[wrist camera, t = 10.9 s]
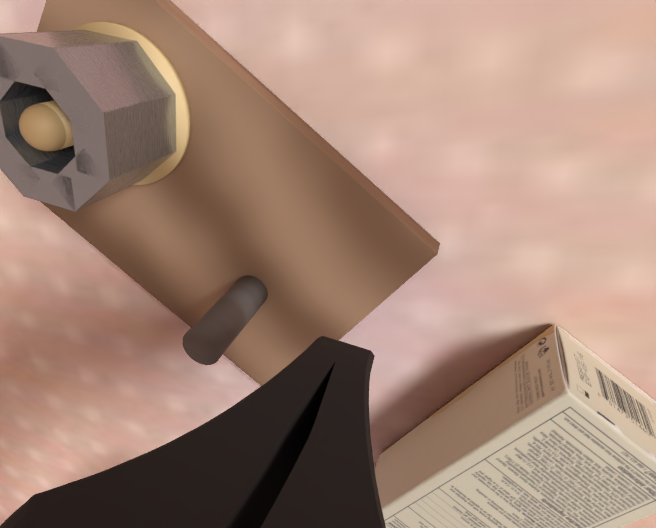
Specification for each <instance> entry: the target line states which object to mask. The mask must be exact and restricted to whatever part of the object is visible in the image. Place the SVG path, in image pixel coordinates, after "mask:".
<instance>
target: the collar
mask: <svg viewBox="0 0 656 528" xmlns="http://www.w3.org/2000/svg"><path fill="white" fill-rule="evenodd" d="M53 100H55V101H56V103H57V104H58V105H59V106H60V108H61V109H62V110H63V112H64V113H65V114H66V115H67V117H68V118H69V119H70V120H71V126H72V134H73V142H74V145H73V146H70V147H66V148H63V149H60V150H57V151H42V150H39V149H36V148H34V147H33V146H31V145H30V144H28V143H27V142H26V141H25V139H24V138H23V136H22V135H21V132H20V129H19V119H20V116H21V114H22V113H23V111H24V110H25V109H26V108H28V107H29V106H31V105H34V104H38V103H43V102H48V101H53ZM175 152H176V94H175V93H174V91H173V90H172V88H171V87H170V86H169V84H168V83H167V81H166V80H165V79H164V77H163V76H162V75H161V73H160V72H159V70H158V69H157V68H156V66H155V65H154V64H153V62H152V61H151V59H150V58H149V57H148V55H147V54H146V53H145V51H144V50H143V48H142V47H141V46H140V44H139V43H138V41H135V40H130V39H125V38H121V37H116V36H111V35H107V34H102V33H97V32H93V31H88V30H72V31H50V32H28V33H7V34H0V169H1V170H2V171H3V172H4V174H5V175H6V176H7V177H8V178H9V179H10V181H11V182H12V183H13V184H14V185H15V186H16V188H17V189H18V190H19V191H20V192H21V194H22V195H23V196H25V197H28V198H32V199H35V200H38V201H42V202H45V203H48V204H52V205H55V206H58V207H62V208H65V209H68V210H72V211H75V212H76V211H78V210H80V209H82V208H84V207H86V206H89V205H91V204H93V203H95V202H97V201H99V200H101V199H103V198H105V197H108V196H110V195H112V194H114V193H116V192H118V191H120V190H122V189H124V188H126V187H129V186H131V185H133V184H135V183H137V182H139V181H141V180H143V179H145V178H146V177H147V176H148V175H149V174H151V173H152V172H153V171H154V170H155V169H156V168H158V167H159V166H160V165H161V164H162V163H163V162H165V161H166V160H167V159H168V158H169V157H170V156H172V155H173V154H174V153H175Z"/></svg>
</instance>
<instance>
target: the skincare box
mask: <svg viewBox="0 0 656 528" xmlns="http://www.w3.org/2000/svg"><path fill="white" fill-rule="evenodd" d="M375 476H376V482H377V487H378V493H379V498H380V503H381V507H382V512H383V517H384V521H385V525H386V528H621V527H623V526H626V525H628V524H630V523H633V522H635V521H637V520H640V519H642V518H645V517H647V516H649V515H652V514H654V513H656V401H655V400H653V399H652V398H651V397H650V396H648V395H647V394H646V393H645V392H643V391H642V390H641V389H639V388H638V387H637V386H636V385H634V384H633V383H632V382H630V381H629V380H628V379H626V378H625V377H624V376H623V375H621V374H620V373H619V372H618V371H616V370H615V369H614V368H612V367H611V366H610V365H608V364H607V363H606V362H605V361H603V360H602V359H601V358H599V357H598V356H597V355H596V354H594V353H593V352H592V351H590V350H589V349H588V348H587V347H585V346H584V345H583V344H581V343H580V342H579V341H577V340H576V339H575V338H574V337H572V336H571V335H570V334H569V333H567V332H566V331H565V330H564V329H562V328H560V327H559V326H557V325H552V326H551V327H549V328H548V329H547V330H545V331H544V332H543V333H541V334H540V335H539V336H537V337H536V338H535V339H533V340H532V341H531V342H529V343H528V344H527V345H525V346H524V347H522V348H521V349H520V350H518V351H517V352H516V353H514V354H513V355H512V356H510V357H509V358H508V359H506V360H505V361H504V362H502V363H501V364H500V365H498V366H497V367H496V368H494V369H493V370H492V371H490V372H489V373H488V374H486V375H485V376H484V377H482V378H481V379H480V380H478V381H477V382H476V383H474V384H473V385H472V386H470V387H469V388H467V389H466V390H465V391H463V392H462V393H461V394H459V395H458V396H457V397H455V398H454V399H453V400H451V401H450V402H449V403H447V404H446V405H445V406H443V407H442V408H441V409H439V410H438V411H437V412H435V413H434V414H433V415H431V416H430V417H429V418H427V419H426V420H425V421H423V422H422V423H421V424H419V425H418V426H417V427H416V428H414V429H413V430H412V431H410V432H409V433H408V434H406V435H405V436H403V437H402V438H401V439H400V440H398V441H397V442H396V443H394V444H393V445H392V446H390V447H389V448H388V449H386V450H385V451H384V452H383V453H381V454H380V455H379V458H378V461H377V464H376V467H375Z"/></svg>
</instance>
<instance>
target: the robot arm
mask: <svg viewBox="0 0 656 528" xmlns="http://www.w3.org/2000/svg"><path fill="white" fill-rule="evenodd" d="M373 360H374V355H373V353H372V352H371V351H370V350H367V349H364V348H360V347H357V346H354V345H351V344H348V343H344V342H341V341H338V340H335V339H331V338H328V337H325V336H321V337H319V338H317V339H316V340H315V341H314V342H313V343H312V344H311V345H310V346H309V347H308V348H307V349H306V350H305V351H304V352H303V353H301V354H300V355H299V356H298V357H297V358H296V359H295V360H293V361H292V362H291V363H290V364H289V365H288V366H286V367H285V368H284V369H283V370H281V371H280V372H279V373H278V374H276V375H275V376H274V377H273V378H271V379H270V380H269V381H268V382H266V383H265V384H264V385H262V386H261V387H260V388H258V389H257V390H255V391H254V392H253V393H251V394H250V395H248V396H247V397H245V398H244V399H243V400H241V401H240V402H238V403H237V404H235V405H234V406H232V407H231V408H229V409H228V410H226V411H225V412H223V413H221V414H220V415H218V416H217V417H215V418H213V419H211V420H210V421H208V422H206V423H205V424H203V425H201V426H199V427H198V428H196V429H194V430H192V431H190V432H188V433H186V434H184V435H182V436H181V437H179V438H177V439H175V440H173V441H171V442H169V443H167V444H165V445H163V446H161V447H159V448H157V449H154V450H152V451H150V452H148V453H145V454H143V455H141V456H138V457H136V458H134V459H131V460H129V461H127V462H124V463H122V464H119V465H117V466H115V467H112V468H110V469H108V470H105V471H102V472H100V473H97V474H95V475H92V476H89V477H86V478H83V479H80V480H77V481H74V482H71V483H68V484H66V485H63V486H60V487H57V488H54V489H51V490H48V491H45V492H42V493H38V494H35V495H33V496H32V497H31V498H30V499H29V500H28V501H27V502H26V503H25V504H23V505H22V506H21V507H20V508H19V509H18V510H16V511H15V512H14V513H13V514H12V515H11V516H10V517H9V518H8V519H7V520H6V521H5V522H4V523H3V524H2V525H1V526H0V528H386V525H385V521H384V517H383V512H382V507H381V503H380V498H379V493H378V487H377V482H376V476H375V470H374V463H373V456H372V447H371V438H370V425H369V380H370V372H371V368H372V364H373Z"/></svg>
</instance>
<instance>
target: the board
mask: <svg viewBox="0 0 656 528" xmlns="http://www.w3.org/2000/svg"><path fill="white" fill-rule="evenodd" d="M72 30H88V31H93V32H97V33H102V34H107V35H111V36H116V37H121V38H125V39H130V40H135V41H138V43H139V44H140V46H141V47H142V48H143V50H144V51H145V53H146V54H147V55H148V57H149V58H150V59H151V61H152V62H153V64H154V65H155V66H156V68H157V69H158V70H159V72H160V73H161V75H162V76H163V77H164V79H165V80H166V81H167V83H168V84H169V86H170V87H171V88H172V90H173V91H174V93H175V94H176V152H175V153H174V154H173V155H172V156H170V157H169V158H168V159H167V160H166V161H165V162H163V163H162V164H161V165H160V166H159V167H158V168H156V169H155V170H154V171H153V172H152V173H151V174H149V175H148V176H147V177H146V178H145V179H143V180H141V181H139V182H137V183H135V184H133V185H131V186H129V187H126V188H124V189H122V190H120V191H118V192H116V193H114V194H112V195H110V196H108V197H105V198H103V199H101V200H99V201H97V202H95V203H93V204H91V205H89V206H86V207H84V208H82V209H80V210H78V211H76V212H75V211H72V210H68V209H65V208H62V207H58V206H55V205H52V204H48V203H45V202H42V201H40V202H42V203H43V204H44V205H45V206H46V207H48V208H49V209H50V210H51V211H52V212H54V213H55V214H56V215H57V216H58V217H60V218H61V219H62V220H63V221H64V222H66V223H67V224H68V225H69V226H70V227H72V228H73V229H74V230H75V231H76V232H78V233H79V234H80V235H81V236H82V237H84V238H85V239H86V240H87V241H88V242H90V243H91V244H92V245H93V246H94V247H96V248H97V249H98V250H99V251H100V252H102V253H103V254H104V255H105V256H106V257H108V258H109V259H110V260H111V261H112V262H114V263H115V264H116V265H117V266H118V267H120V268H121V269H122V270H123V271H124V272H126V273H127V274H128V275H129V276H130V277H132V278H133V279H134V280H135V281H136V282H138V283H139V284H140V285H141V286H142V287H143V288H145V289H146V290H147V291H148V292H149V293H151V294H152V295H153V296H154V297H155V298H157V299H158V300H159V301H160V302H161V303H163V304H164V305H165V306H166V307H167V308H169V309H170V310H171V311H172V312H173V313H175V314H176V315H177V316H178V317H179V318H181V319H182V320H183V321H184V322H185V323H187V324H188V325H189V326H190V327H191V329H190V330H189V331H188V332H187V333H186V334H185V335H184V337H183V347H184V349H185V351H186V353H187V354H188V355H189V356H190V357H191V358H192V359H193V360H195V361H196V362H198V363H201V364H204V365H211V364H214V363H216V362H217V361H218V359H219V358H220V357H221V356H222V354H224V355H225V356H226V357H227V358H229V359H230V360H231V361H232V362H233V363H235V364H236V365H237V366H238V367H239V368H241V369H242V370H243V371H244V372H245V373H247V374H248V375H249V376H250V377H251V378H253V379H254V380H255V381H256V382H257V383H259V384H260V385H261V386H262V385H264V384H265V383H266V382H268V381H269V380H270V379H271V378H273V377H274V376H275V375H276V374H278V373H279V372H280V371H281V370H283V369H284V368H285V367H286V366H288V365H289V364H290V363H291V362H292V361H293V360H295V359H296V358H297V357H298V356H299V355H300V354H301V353H303V352H304V351H305V350H306V349H307V348H308V347H309V346H310V345H311V344H312V343H313V342H314V341H315V340H316V339H317V338H319V337H321V336H325V337H328V338H331V339H335V340H339V339H341V338H342V337H343V336H344V335H345V334H346V333H347V332H349V331H350V330H351V329H352V328H353V327H354V326H355V325H357V324H358V323H359V322H360V321H361V320H362V319H364V318H365V317H366V316H367V315H368V314H369V313H370V312H372V311H373V310H374V309H375V308H376V307H377V306H378V305H380V304H381V303H382V302H383V301H384V300H385V299H386V298H388V297H389V296H390V295H391V294H392V293H393V292H394V291H396V290H397V289H398V288H399V287H400V286H401V285H403V284H404V283H405V282H406V281H407V280H408V279H409V278H411V277H412V276H413V275H414V274H415V273H416V272H417V271H419V270H420V269H421V268H422V267H423V266H424V265H425V264H427V263H428V262H429V261H430V260H431V259H432V258H433V257H435V256H436V255H437V253H438V249H439V245H440V243H439V242H438V241H436V240H435V239H434V238H433V237H432V236H431V235H430V234H429V233H428V232H426V231H425V230H424V229H423V228H422V227H421V226H420V225H419V224H418V223H416V222H415V221H414V220H413V219H412V218H411V217H410V216H409V215H408V214H406V213H405V212H404V211H403V210H402V209H401V208H400V207H399V206H398V205H396V204H395V203H394V202H393V201H392V200H391V199H390V198H389V197H388V196H386V195H385V194H384V193H383V192H382V191H381V190H380V189H379V188H378V187H377V186H375V185H374V184H373V183H372V182H371V181H370V180H369V179H368V178H367V177H365V176H364V175H363V174H362V173H361V172H360V171H359V170H358V169H357V168H355V167H354V166H353V165H352V164H351V163H350V162H349V161H348V160H347V159H345V158H344V157H343V156H342V155H341V154H340V153H339V152H338V151H337V150H335V149H334V148H333V147H332V146H331V145H330V144H329V143H328V142H327V141H325V140H324V139H323V138H322V137H321V136H320V135H319V134H318V133H317V132H315V131H314V130H313V129H312V128H311V127H310V126H309V125H308V124H307V123H305V122H304V121H303V120H302V119H301V118H300V117H299V116H298V115H297V114H295V113H294V112H293V111H292V110H291V109H290V108H289V107H288V106H287V105H285V104H284V103H283V102H282V101H281V100H280V99H279V98H278V97H277V96H275V95H274V94H273V93H272V92H271V91H270V90H269V89H268V88H267V87H265V86H264V85H263V84H262V83H261V82H260V81H259V80H258V79H257V78H256V77H254V76H253V75H252V74H251V73H250V72H249V71H248V70H247V69H246V68H244V67H243V66H242V65H241V64H240V63H239V62H238V61H237V60H236V59H234V58H233V57H232V56H231V55H230V54H229V53H228V52H227V51H226V50H224V49H223V48H222V47H221V46H220V45H219V44H218V43H217V42H216V41H214V40H213V39H212V38H211V37H210V36H209V35H208V34H207V33H206V32H204V31H203V30H202V29H201V28H200V27H199V26H198V25H197V24H196V23H194V22H193V21H192V20H191V19H190V18H189V17H188V16H187V15H186V14H184V13H183V12H182V11H181V10H180V9H179V8H178V7H177V6H176V5H174V4H173V3H172V2H171V1H170V0H46V4H45V7H44V10H43V13H42V17H41V20H40V23H39V27H38V30H37V32H50V31H72ZM19 129H20V132H21V135H22V136H23V138H24V139H25V141H26V142H27V143H28V144H30V145H31V146H33V147H34V148H36V149H39V150H42V151H57V150H60V149H63V148H66V147H70V146H73V145H74V142H73V134H72V126H71V120H70V119H69V118H68V117H67V115H66V114H65V113H64V112H63V110H62V109H61V108H60V106H59V105H58V104H57V103H56V101H55V100H53V101H48V102H43V103H38V104H34V105H31V106H29V107H28V108H26V109H25V110H24V111H23V113H22V114H21V116H20V119H19Z"/></svg>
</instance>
